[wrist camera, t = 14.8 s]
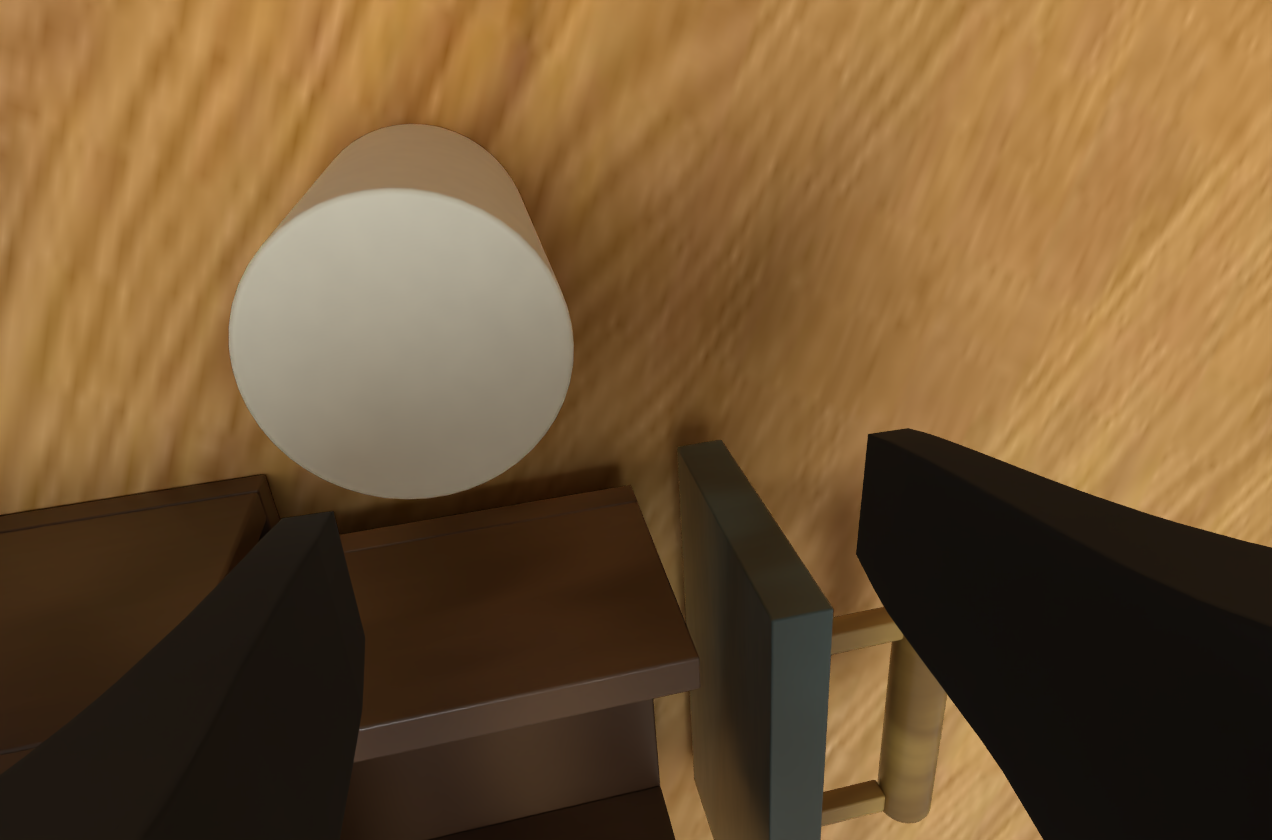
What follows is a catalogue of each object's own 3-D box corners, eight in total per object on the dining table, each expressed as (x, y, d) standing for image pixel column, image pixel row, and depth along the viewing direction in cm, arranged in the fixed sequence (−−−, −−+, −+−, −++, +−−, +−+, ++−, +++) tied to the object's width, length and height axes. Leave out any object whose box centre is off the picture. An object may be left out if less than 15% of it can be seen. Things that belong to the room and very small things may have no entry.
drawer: (877, 412, 21) (1046, 565, 15) (851, 742, 27) (967, 947, 21) (159, 531, 18) (21, 774, 12) (299, 870, 24) (251, 1149, 18)
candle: (506, 348, 19) (537, 517, 13) (301, 312, 18) (217, 481, 11) (547, 154, 17) (608, 232, 11) (324, 97, 16) (239, 148, 9)
